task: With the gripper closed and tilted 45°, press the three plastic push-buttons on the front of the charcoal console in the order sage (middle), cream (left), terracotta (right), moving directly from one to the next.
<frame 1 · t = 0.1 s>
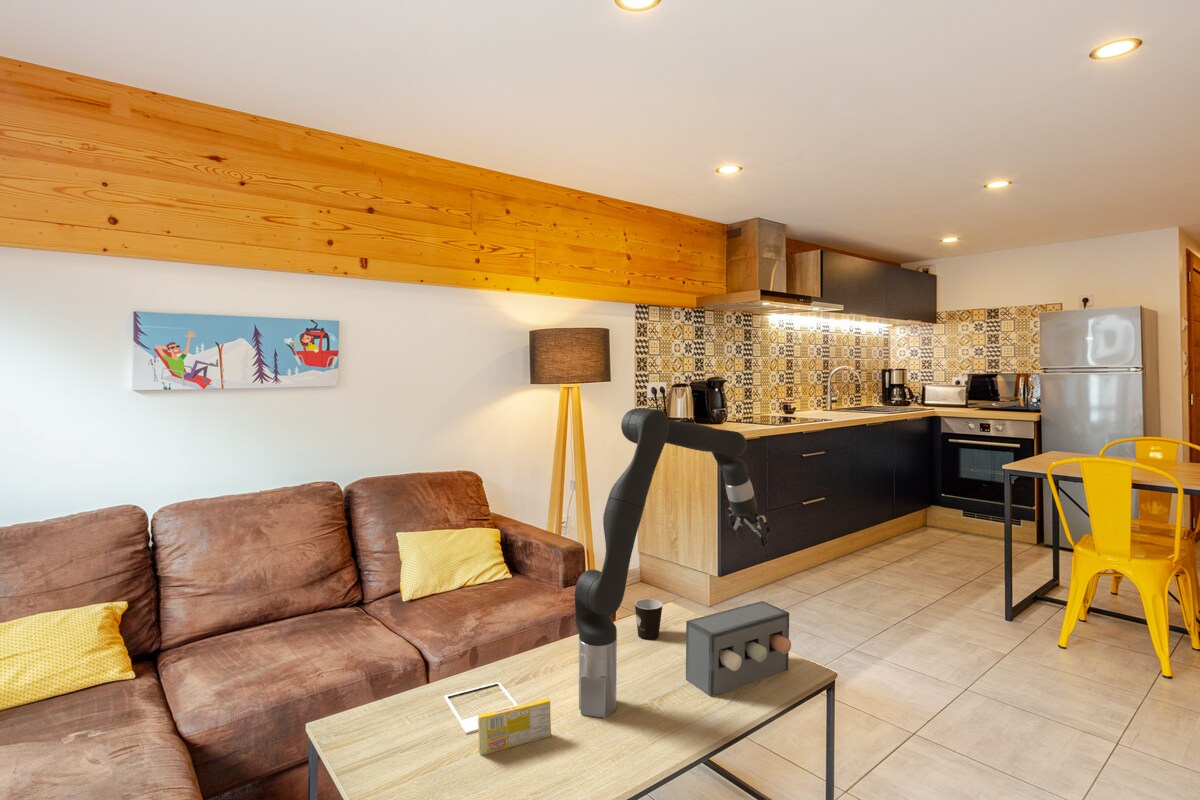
hand: (753, 542, 185), 31 cm above the table, fingers open, 8 cm apart
cream button: (726, 657, 160), point 9 cm above the table, slide at 0.0 cm
photo frame: (483, 709, 153), on the table
terracotta button: (775, 641, 169), point 9 cm above the table, slide at 0.0 cm
sage button: (751, 649, 165), point 9 cm above the table, slide at 0.0 cm
candy box: (515, 744, 138), on the table
console: (737, 674, 170), on the table
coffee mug: (648, 634, 196), on the table
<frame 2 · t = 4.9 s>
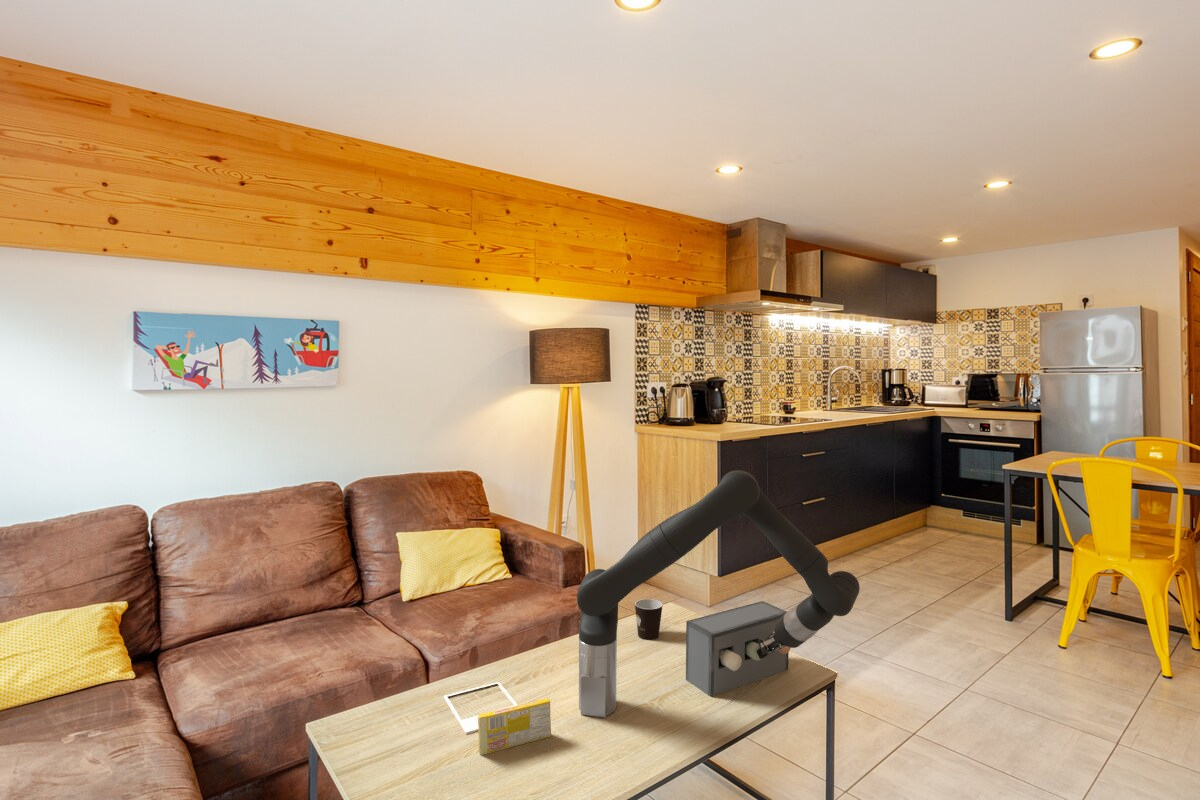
hand: (760, 654, 162), 9 cm above the table, fingers closed
sage button: (749, 647, 166), point 9 cm above the table, slide at 1.0 cm, touching gripper
everything else where it was.
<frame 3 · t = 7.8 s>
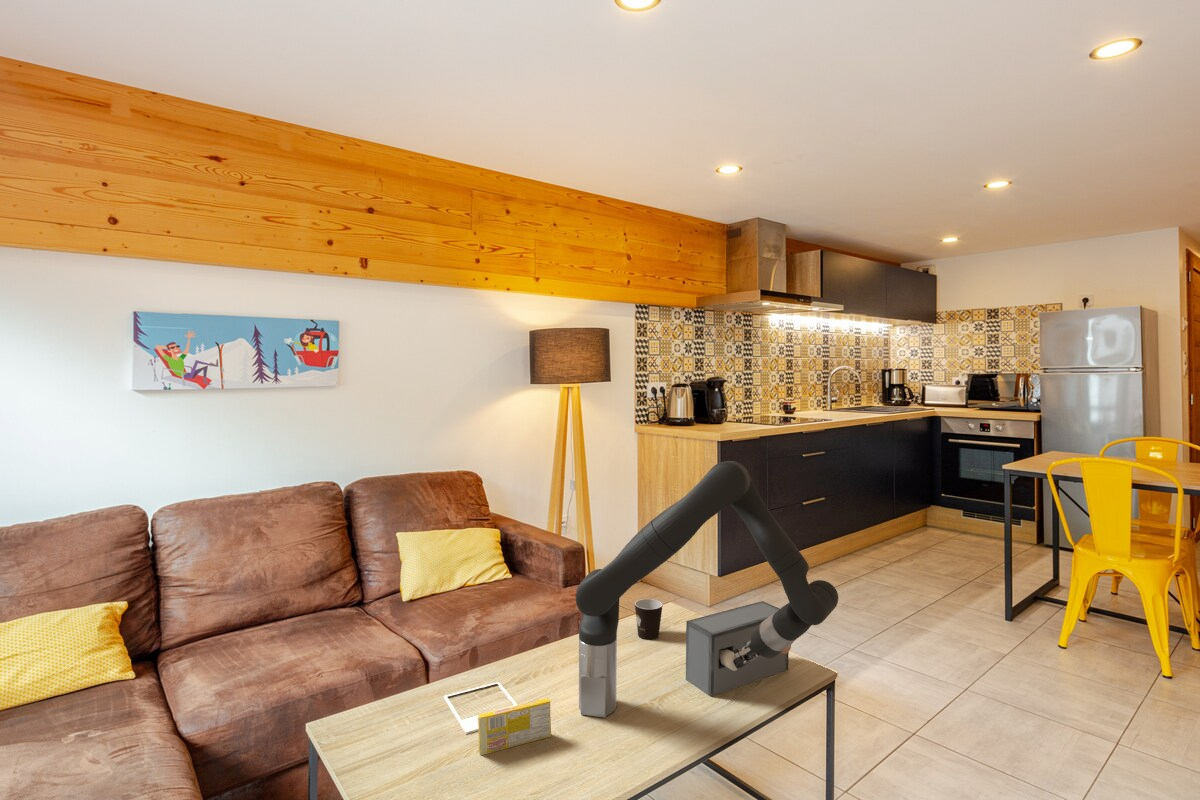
hand: (736, 664, 157), 9 cm above the table, fingers closed
cream button: (725, 657, 160), point 9 cm above the table, slide at 0.1 cm, touching gripper
sage button: (744, 645, 167), point 9 cm above the table, slide at 2.6 cm
everything else where it was.
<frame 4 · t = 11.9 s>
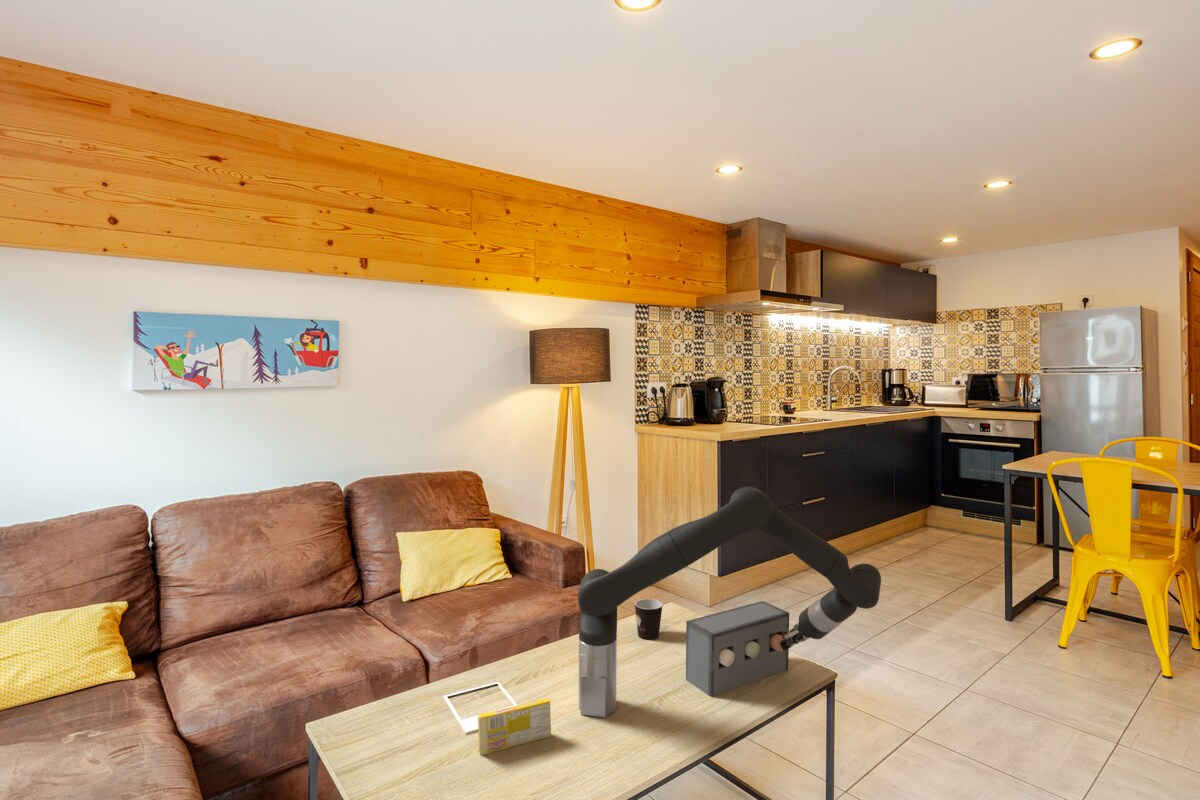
hand: (783, 646, 167), 9 cm above the table, fingers closed
cream button: (719, 653, 162), point 9 cm above the table, slide at 2.6 cm
terracotta button: (772, 639, 171), point 9 cm above the table, slide at 1.4 cm, touching gripper
everything else where it was.
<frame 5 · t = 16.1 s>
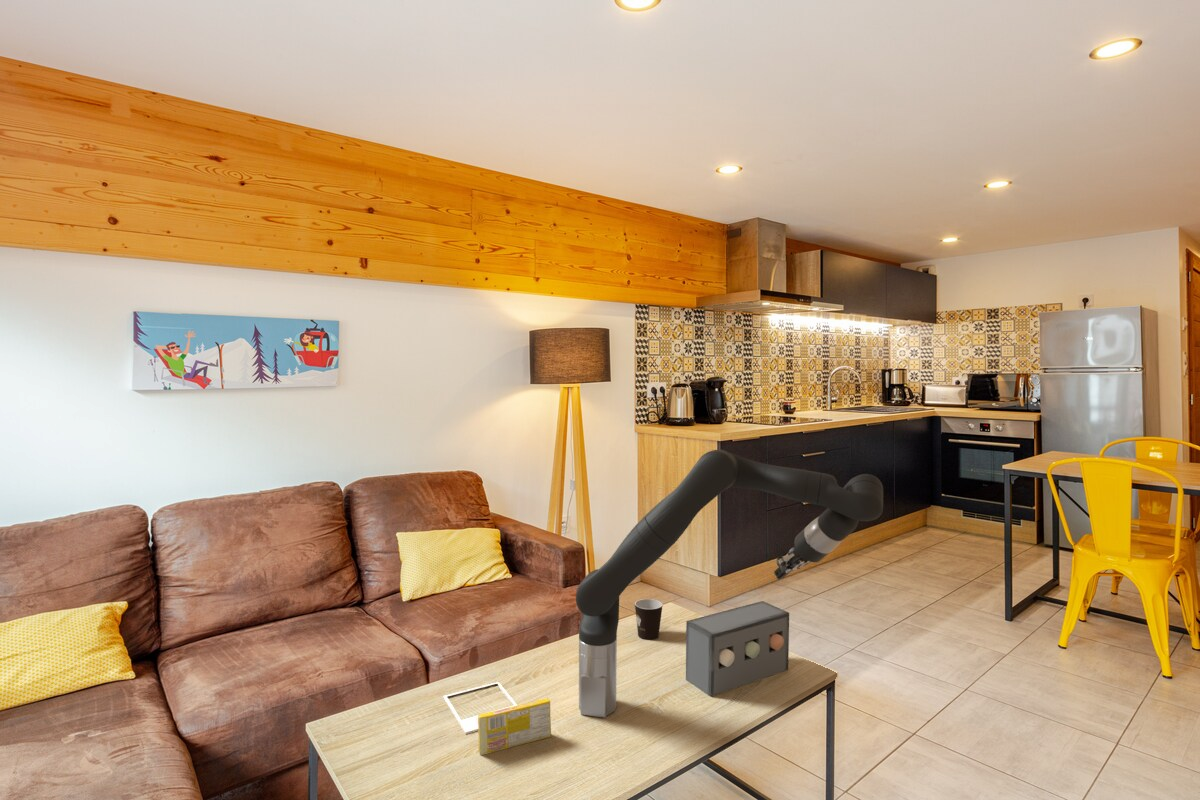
hand: (777, 575, 154), 32 cm above the table, fingers closed
terracotta button: (768, 638, 172), point 9 cm above the table, slide at 2.6 cm
everything else where it was.
at the end: sage button slide at 2.6 cm; cream button slide at 2.6 cm; terracotta button slide at 2.6 cm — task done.
